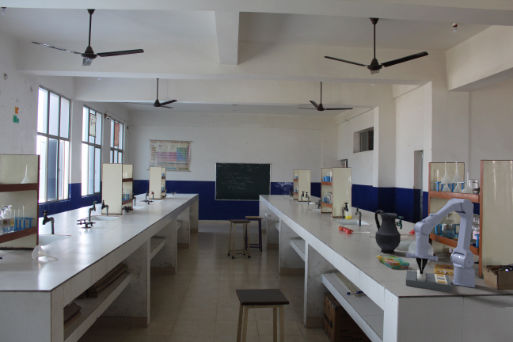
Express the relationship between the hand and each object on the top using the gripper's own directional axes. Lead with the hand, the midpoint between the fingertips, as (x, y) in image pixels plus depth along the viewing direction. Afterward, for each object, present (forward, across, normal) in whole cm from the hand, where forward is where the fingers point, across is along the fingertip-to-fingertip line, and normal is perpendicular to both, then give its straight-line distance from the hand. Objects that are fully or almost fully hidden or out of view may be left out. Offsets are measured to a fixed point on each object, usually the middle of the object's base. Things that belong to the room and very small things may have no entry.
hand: (421, 273), depth 177 cm
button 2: (+4, 0, 0) cm, 4 cm away
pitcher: (+6, -23, +80) cm, 83 cm away
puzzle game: (+7, -16, +40) cm, 43 cm away
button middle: (+4, 0, +6) cm, 8 cm away
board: (+6, +3, +6) cm, 9 cm away
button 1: (+5, 0, +13) cm, 14 cm away
